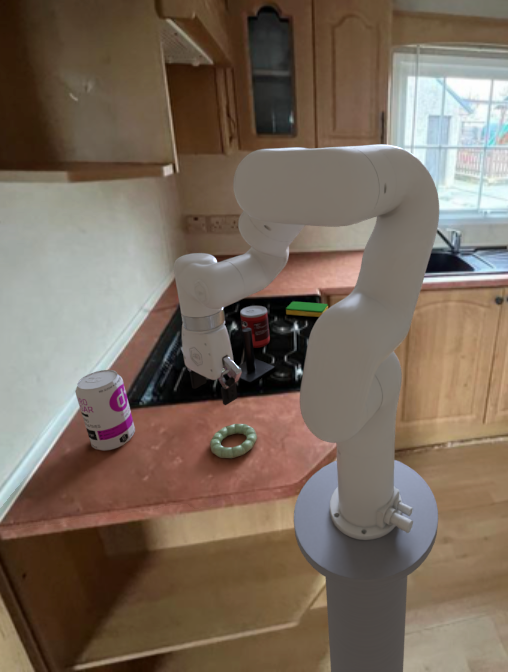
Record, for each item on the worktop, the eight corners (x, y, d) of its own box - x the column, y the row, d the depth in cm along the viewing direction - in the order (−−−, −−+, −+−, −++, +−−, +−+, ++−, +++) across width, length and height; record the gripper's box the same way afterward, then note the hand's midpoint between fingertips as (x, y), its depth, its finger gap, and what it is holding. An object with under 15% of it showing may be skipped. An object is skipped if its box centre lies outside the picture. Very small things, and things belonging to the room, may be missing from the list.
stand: (275, 370, 113) (271, 327, 109) (250, 386, 106) (244, 340, 102) (252, 361, 118) (248, 319, 113) (227, 375, 111) (221, 331, 106)
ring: (265, 439, 88) (265, 432, 87) (231, 467, 81) (230, 458, 80) (237, 424, 93) (236, 416, 92) (201, 448, 85) (200, 440, 85)
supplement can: (143, 426, 92) (129, 368, 87) (121, 453, 84) (104, 391, 79) (107, 425, 92) (91, 367, 87) (82, 452, 84) (63, 390, 79)
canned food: (248, 336, 132) (244, 305, 128) (272, 337, 132) (269, 305, 128) (240, 348, 125) (236, 315, 121) (266, 348, 125) (263, 315, 121)
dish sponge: (293, 307, 155) (292, 301, 154) (328, 309, 152) (328, 303, 151) (285, 314, 148) (285, 308, 147) (322, 317, 146) (322, 311, 145)
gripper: (159, 314, 80) (173, 388, 86) (216, 338, 71) (227, 418, 77) (192, 301, 86) (203, 371, 92) (250, 322, 77) (257, 398, 83)
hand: (214, 393), depth 85 cm, fingers open, 9 cm apart
